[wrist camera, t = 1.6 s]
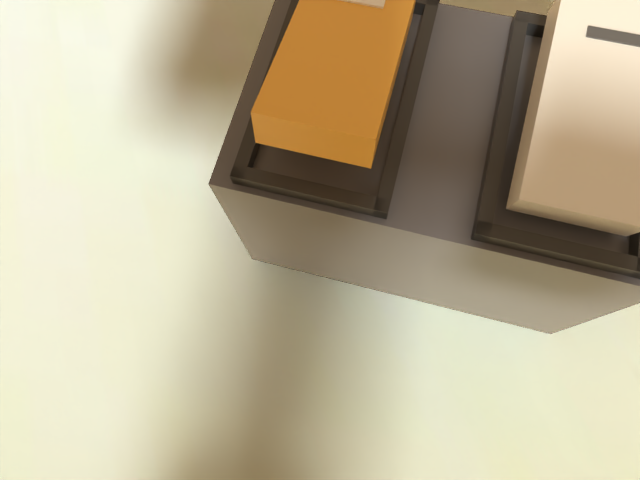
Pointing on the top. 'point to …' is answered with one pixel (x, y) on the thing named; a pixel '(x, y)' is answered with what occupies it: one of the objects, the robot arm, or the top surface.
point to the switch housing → (428, 186)
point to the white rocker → (584, 120)
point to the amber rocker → (333, 78)
